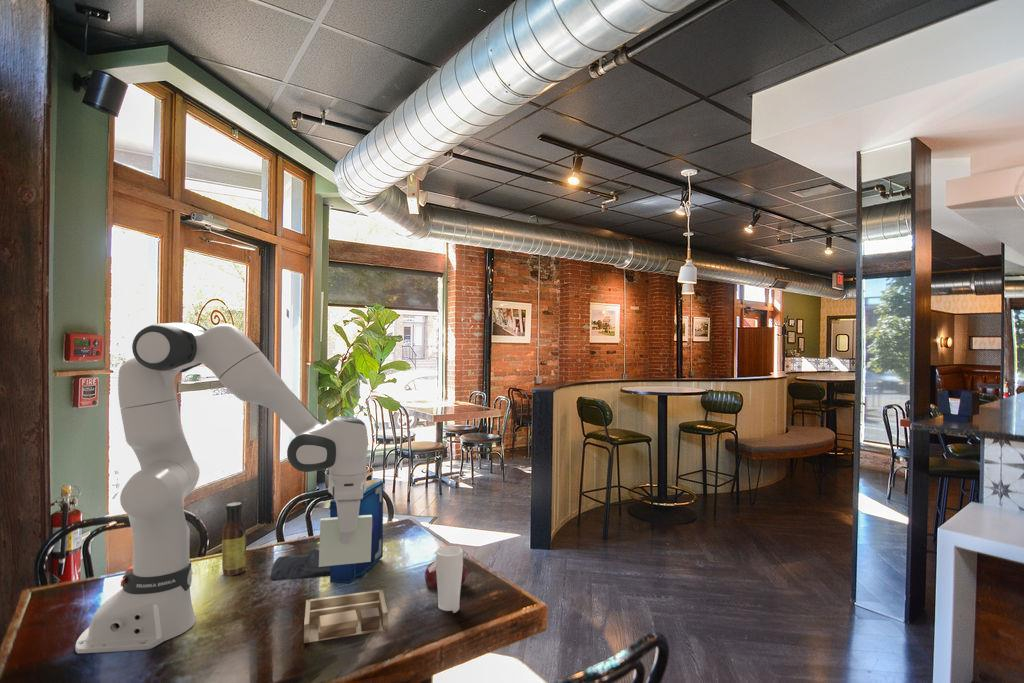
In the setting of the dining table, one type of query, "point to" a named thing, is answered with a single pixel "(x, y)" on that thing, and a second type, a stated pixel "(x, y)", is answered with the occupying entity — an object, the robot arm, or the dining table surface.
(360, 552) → the sheet
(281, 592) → the dining table surface
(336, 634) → the offcut low
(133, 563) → the robot arm
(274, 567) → the dark slate chunk
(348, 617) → the offcut top
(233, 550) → the sauce bottle
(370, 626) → the offcut small
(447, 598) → the drinking glass
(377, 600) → the rack
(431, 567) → the heart
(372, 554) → the book
